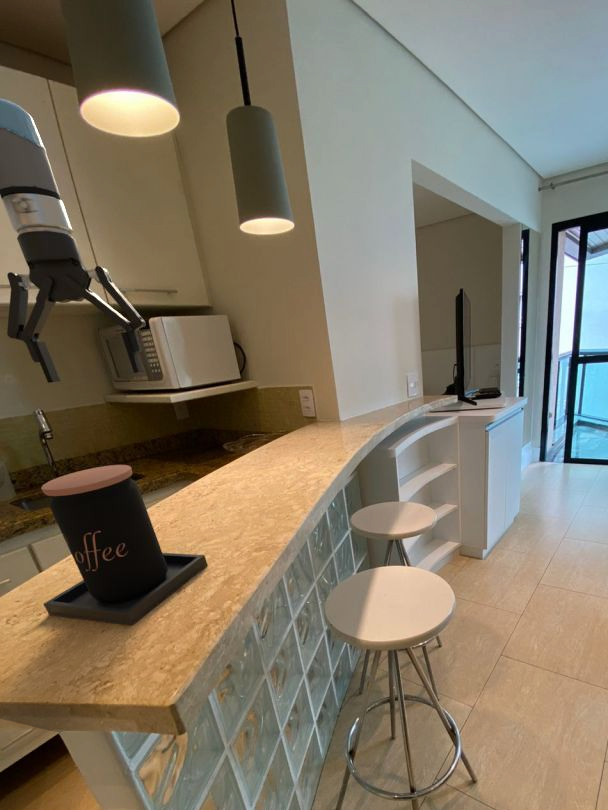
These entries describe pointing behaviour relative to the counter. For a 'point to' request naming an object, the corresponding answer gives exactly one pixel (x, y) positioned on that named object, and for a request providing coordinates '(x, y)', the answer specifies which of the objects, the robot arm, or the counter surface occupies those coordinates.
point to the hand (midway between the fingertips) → (97, 377)
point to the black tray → (129, 612)
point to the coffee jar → (108, 532)
